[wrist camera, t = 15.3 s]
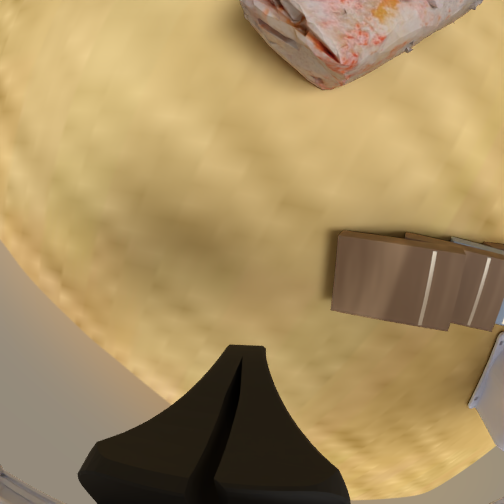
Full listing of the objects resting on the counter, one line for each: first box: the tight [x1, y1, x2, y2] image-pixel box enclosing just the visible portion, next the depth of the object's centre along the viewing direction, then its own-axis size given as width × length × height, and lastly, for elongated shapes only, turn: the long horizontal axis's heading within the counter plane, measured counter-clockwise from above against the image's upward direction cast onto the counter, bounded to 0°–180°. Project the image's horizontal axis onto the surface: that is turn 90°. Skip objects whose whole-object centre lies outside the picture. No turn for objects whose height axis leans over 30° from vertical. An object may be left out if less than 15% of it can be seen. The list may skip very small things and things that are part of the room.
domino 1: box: [331, 230, 466, 331], centre depth 18 cm, size 2×5×8 cm
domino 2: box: [405, 232, 504, 332], centre depth 18 cm, size 2×5×8 cm
